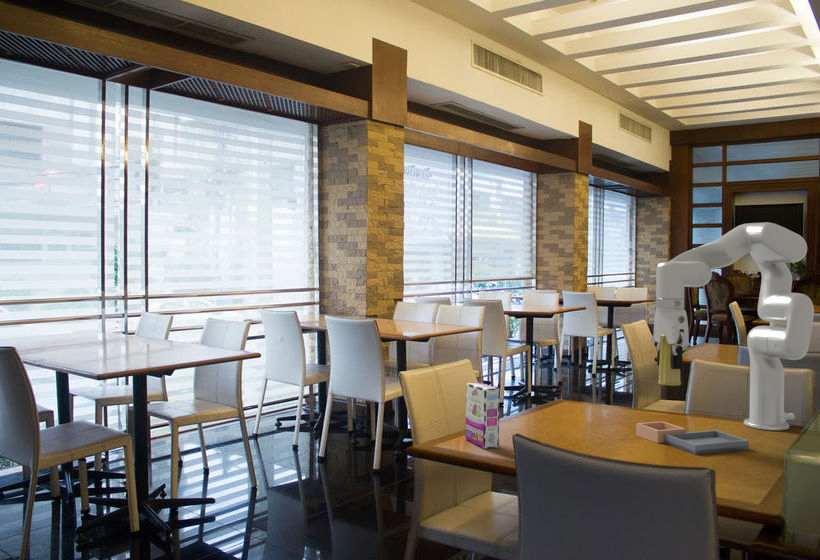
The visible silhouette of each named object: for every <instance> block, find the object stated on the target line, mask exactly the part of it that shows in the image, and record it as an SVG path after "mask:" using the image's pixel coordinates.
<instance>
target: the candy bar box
mask: <svg viewBox="0 0 820 560" xmlns="http://www.w3.org/2000/svg"><path fill="white" fill-rule="evenodd" d="M465 388H466V389H465V391H466V392H465V393H466V394H465V396H466V397H465V441H467V442H470V443H471V444H472V445H473V444H474V445H475V446H477V447H479V448H481V449H483V450H489V449H496V448H497V449H498V448H499V447H500V441H499V438H500V392H501V389H500V388H499V387H495V386H493V385H489V384H486V383H483V382H468V383H466V387H465Z"/></svg>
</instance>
